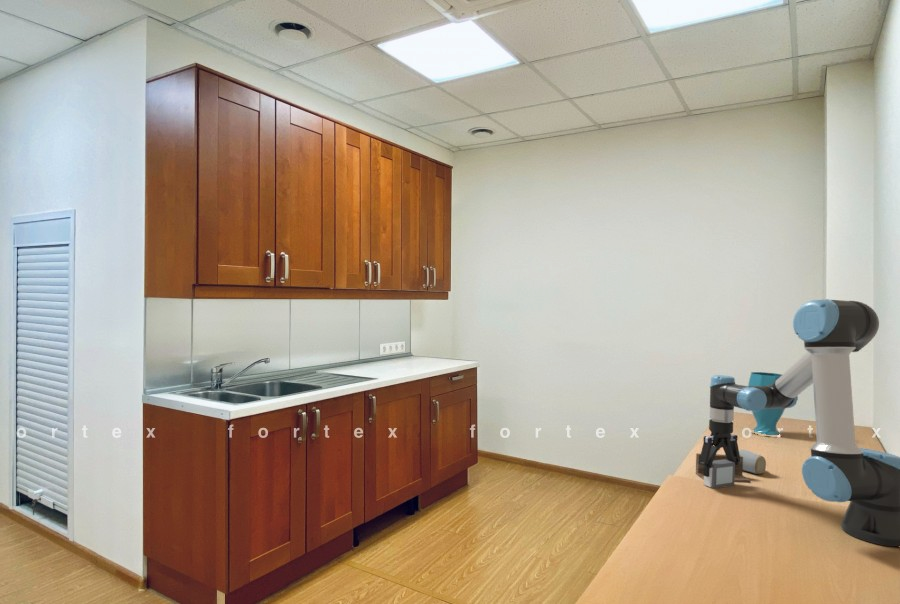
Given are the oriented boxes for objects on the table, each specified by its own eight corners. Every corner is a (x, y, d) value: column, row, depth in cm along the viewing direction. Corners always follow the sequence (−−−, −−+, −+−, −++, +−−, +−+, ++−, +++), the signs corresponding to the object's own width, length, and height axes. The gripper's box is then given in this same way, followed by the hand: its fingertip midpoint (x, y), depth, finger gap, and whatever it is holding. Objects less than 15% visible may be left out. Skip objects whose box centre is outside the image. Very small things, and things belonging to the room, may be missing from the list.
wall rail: (750, 482, 192) (750, 461, 192) (704, 480, 192) (705, 459, 192) (739, 475, 199) (740, 455, 199) (695, 473, 200) (696, 453, 200)
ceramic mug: (756, 476, 199) (757, 455, 199) (734, 470, 206) (735, 450, 206) (771, 473, 205) (772, 452, 205) (749, 467, 212) (750, 447, 212)
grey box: (734, 485, 188) (735, 462, 188) (713, 488, 184) (714, 465, 184) (724, 481, 191) (725, 459, 191) (703, 484, 187) (704, 461, 187)
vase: (738, 430, 275) (740, 372, 275) (764, 429, 281) (766, 371, 281) (767, 439, 259) (769, 376, 259) (794, 437, 264) (796, 376, 264)
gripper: (734, 416, 196) (732, 477, 196) (688, 419, 187) (686, 483, 187) (753, 420, 189) (751, 484, 189) (706, 424, 180) (704, 491, 180)
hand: (719, 484), depth 188 cm, fingers closed on grey box, 10 cm apart
